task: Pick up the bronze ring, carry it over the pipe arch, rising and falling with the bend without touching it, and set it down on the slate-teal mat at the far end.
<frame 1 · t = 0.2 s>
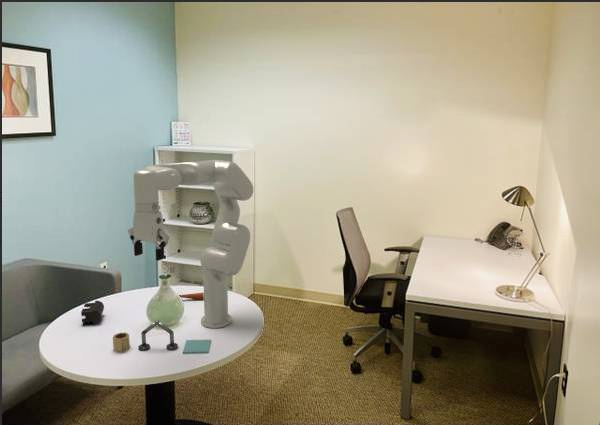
hand: (149, 257, 160), 37 cm above the table, tool pointing down, fingers open, 9 cm apart
end cap: (93, 321, 195), on the table
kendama: (181, 301, 216), on the table
pipe arch: (158, 347, 174), on the table
bronze ring: (121, 348, 173), on the table
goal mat: (197, 347, 175), on the table
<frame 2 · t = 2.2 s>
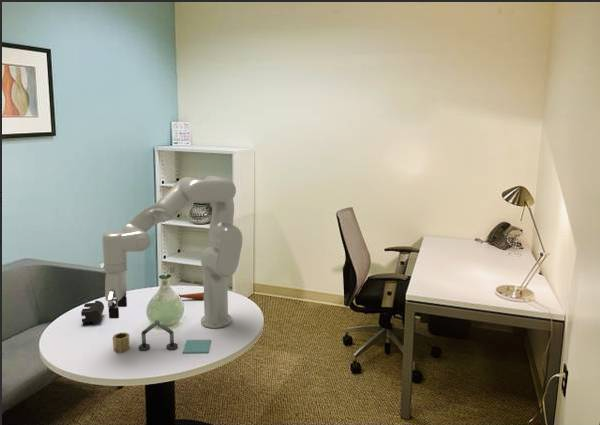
hand: (118, 312, 169), 14 cm above the table, tool pointing down, fingers open, 9 cm apart
nothing on the table moved.
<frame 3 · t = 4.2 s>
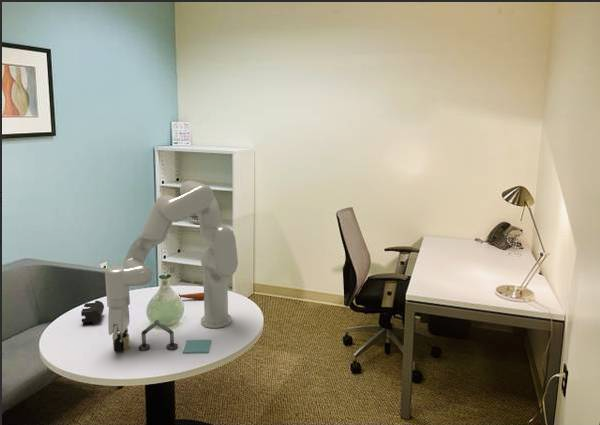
hand: (121, 346, 173), 1 cm above the table, tool pointing down, fingers closed on bronze ring, 5 cm apart
bronze ring: (121, 348, 173), on the table, touching gripper
everything else where it was.
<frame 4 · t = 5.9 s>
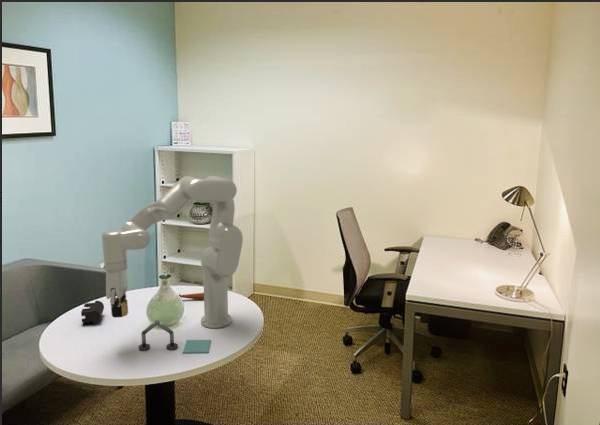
hand: (119, 312, 170), 14 cm above the table, tool pointing down, fingers closed on bronze ring, 5 cm apart
bronze ring: (119, 314, 170), point 13 cm above the table, touching gripper
everything else where it was.
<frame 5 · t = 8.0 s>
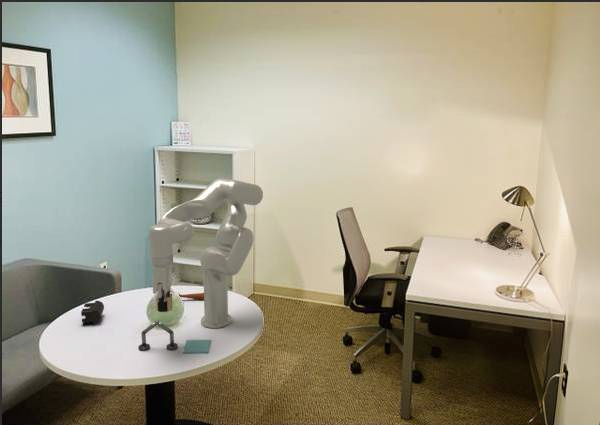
hand: (164, 307, 171), 16 cm above the table, tool pointing down, fingers closed on bronze ring, 5 cm apart
bronze ring: (164, 309, 171), point 15 cm above the table, touching gripper
everything else where it was.
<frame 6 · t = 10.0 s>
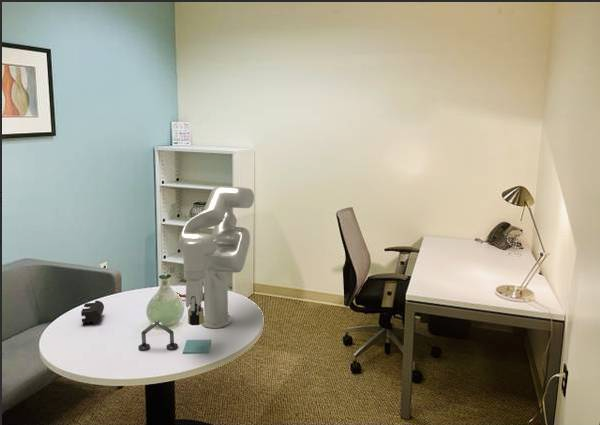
hand: (196, 320, 172), 11 cm above the table, tool pointing down, fingers closed on bronze ring, 5 cm apart
bronze ring: (196, 322, 172), point 10 cm above the table, touching gripper
everything else where it was.
when the fingers open (3 cm above the table, at t = 11.7 s): bronze ring drops 1 cm, resting on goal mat.
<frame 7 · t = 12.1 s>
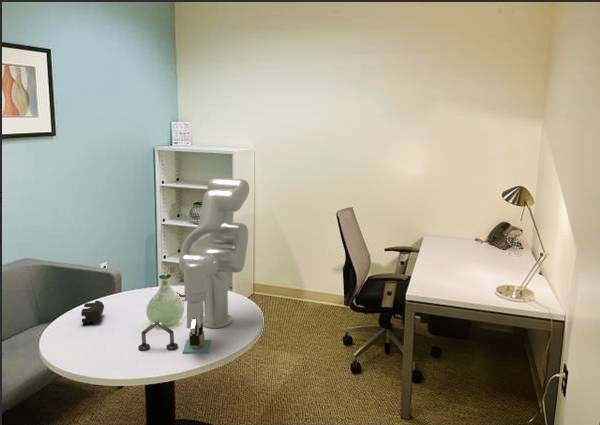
hand: (196, 338, 174), 3 cm above the table, tool pointing down, fingers open, 9 cm apart
bronze ring: (197, 345, 175), point 1 cm above the table, touching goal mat
everything else where it was.
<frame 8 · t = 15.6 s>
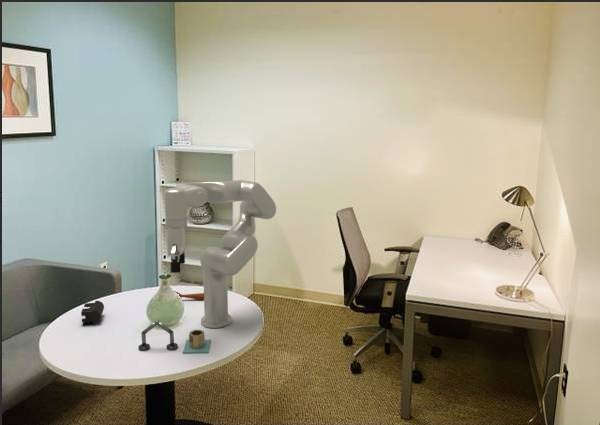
hand: (178, 267, 175), 28 cm above the table, tool pointing down, fingers open, 9 cm apart
at the end: bronze ring inside the target area (0.1 cm from its centre), point 0.6 cm above the table; bronze ring touching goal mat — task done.
